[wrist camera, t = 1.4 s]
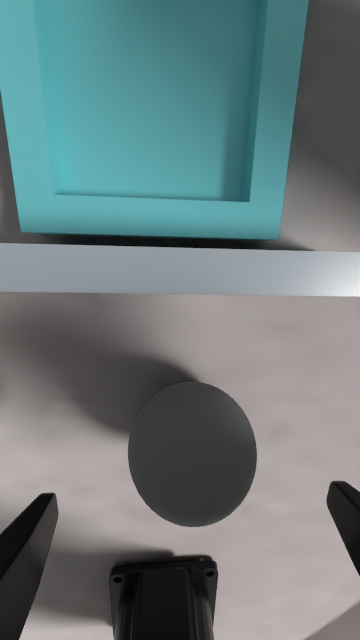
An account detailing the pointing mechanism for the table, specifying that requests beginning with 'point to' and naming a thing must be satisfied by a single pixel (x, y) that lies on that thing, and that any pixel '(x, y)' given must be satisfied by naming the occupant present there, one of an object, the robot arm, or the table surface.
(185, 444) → the ball
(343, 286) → the gray flat board
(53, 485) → the table surface
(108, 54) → the coaster
